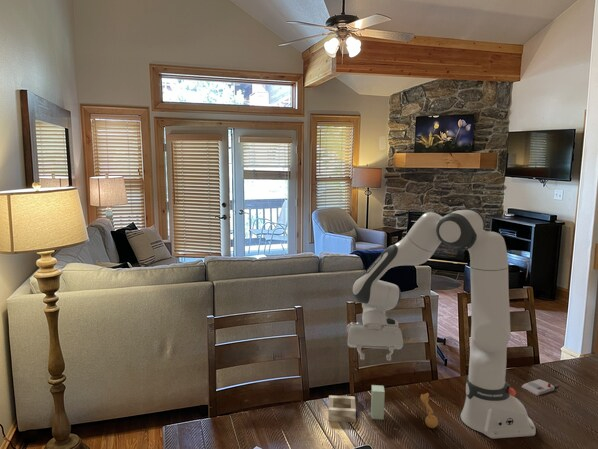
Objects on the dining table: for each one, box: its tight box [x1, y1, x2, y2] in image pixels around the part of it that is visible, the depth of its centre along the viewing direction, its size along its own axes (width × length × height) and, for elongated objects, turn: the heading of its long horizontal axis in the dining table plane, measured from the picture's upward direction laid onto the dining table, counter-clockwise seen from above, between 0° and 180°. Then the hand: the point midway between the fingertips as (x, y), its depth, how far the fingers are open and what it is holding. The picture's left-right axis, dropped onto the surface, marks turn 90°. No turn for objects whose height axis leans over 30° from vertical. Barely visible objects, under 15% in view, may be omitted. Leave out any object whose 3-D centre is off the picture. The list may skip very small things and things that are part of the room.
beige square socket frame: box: [327, 394, 357, 423], centre depth 150 cm, size 9×9×4 cm
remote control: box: [521, 378, 559, 396], centre depth 167 cm, size 7×16×3 cm, turn 115°
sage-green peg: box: [370, 384, 386, 421], centre depth 149 cm, size 4×4×10 cm
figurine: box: [419, 392, 439, 429], centre depth 142 cm, size 8×6×12 cm
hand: (375, 359), depth 159 cm, fingers open, 8 cm apart
